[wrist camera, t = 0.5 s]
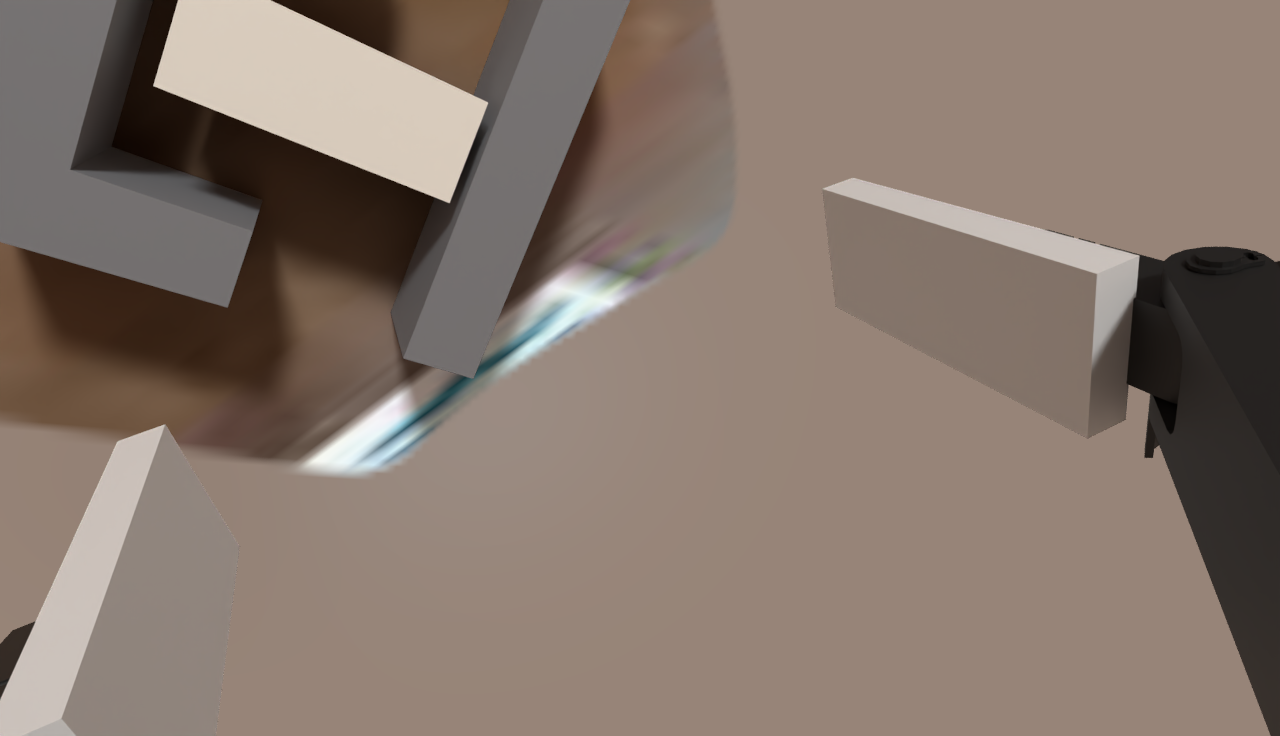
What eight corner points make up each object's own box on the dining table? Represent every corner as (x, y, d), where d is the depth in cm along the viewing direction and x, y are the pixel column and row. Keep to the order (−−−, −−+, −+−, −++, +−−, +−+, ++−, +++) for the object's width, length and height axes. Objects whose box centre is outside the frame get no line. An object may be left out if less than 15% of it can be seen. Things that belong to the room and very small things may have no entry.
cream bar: (168, 81, 28) (153, 85, 25) (201, -32, 27) (189, -38, 24) (438, 189, 32) (449, 203, 30) (474, 97, 32) (488, 102, 29)
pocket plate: (-2, 189, 30) (-69, 222, 24) (120, -290, 26) (72, -369, 21) (451, 331, 38) (473, 378, 33) (590, -15, 34) (639, -24, 29)
